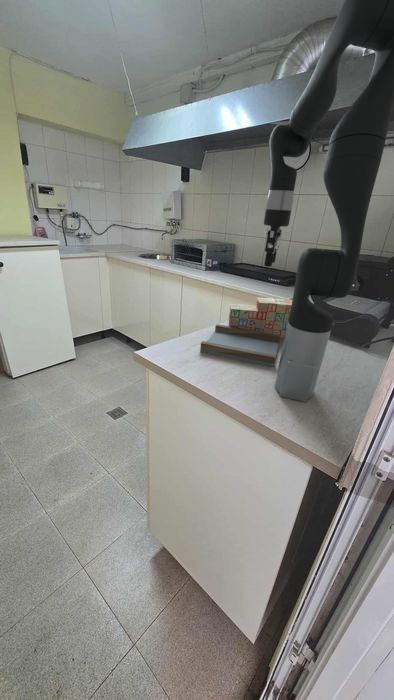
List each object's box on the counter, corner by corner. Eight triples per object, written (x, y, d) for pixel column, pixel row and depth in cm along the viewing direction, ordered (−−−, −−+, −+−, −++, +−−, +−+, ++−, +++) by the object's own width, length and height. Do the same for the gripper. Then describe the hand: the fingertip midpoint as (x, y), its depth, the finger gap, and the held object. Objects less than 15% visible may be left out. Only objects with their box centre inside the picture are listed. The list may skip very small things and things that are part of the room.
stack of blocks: (228, 333, 101) (231, 300, 95) (227, 327, 106) (231, 295, 101) (289, 338, 99) (296, 305, 94) (285, 331, 105) (292, 299, 99)
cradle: (273, 367, 81) (275, 357, 79) (200, 351, 87) (200, 343, 85) (279, 343, 95) (280, 335, 94) (216, 331, 101) (216, 324, 100)
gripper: (289, 208, 78) (279, 269, 85) (293, 209, 90) (283, 262, 97) (262, 207, 80) (254, 266, 87) (269, 208, 92) (261, 260, 99)
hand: (269, 264), depth 92 cm, fingers open, 8 cm apart
